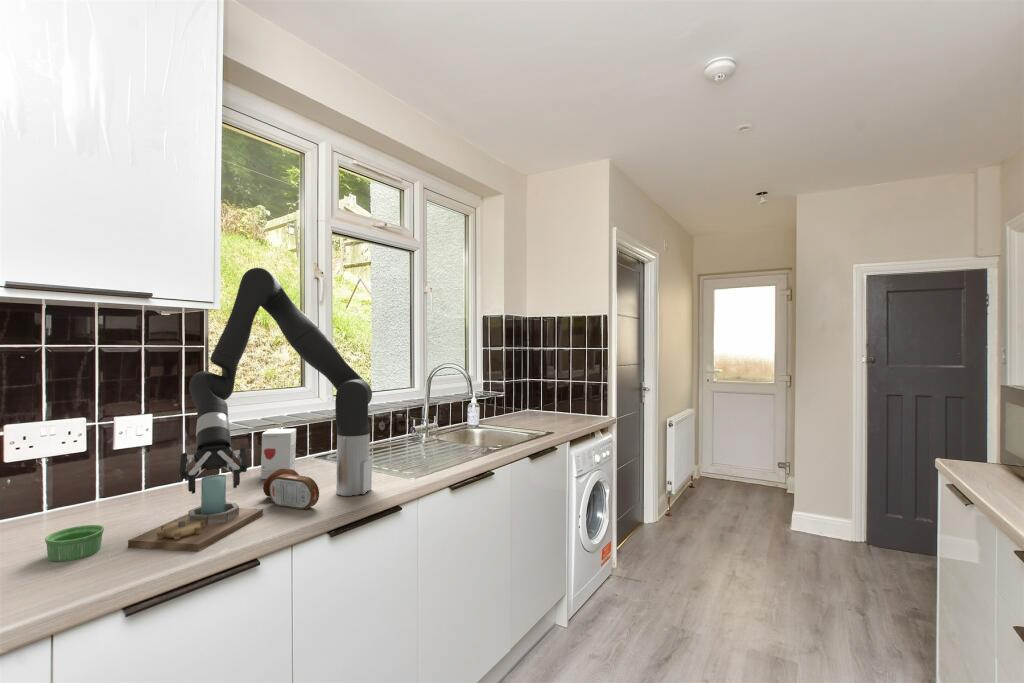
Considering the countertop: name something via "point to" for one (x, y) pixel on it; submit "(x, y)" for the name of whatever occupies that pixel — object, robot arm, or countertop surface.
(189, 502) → the countertop surface
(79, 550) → the ramekin
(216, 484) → the light blue cylinder
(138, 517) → the countertop surface
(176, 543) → the board
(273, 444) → the supplement box
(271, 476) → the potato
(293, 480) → the tin
